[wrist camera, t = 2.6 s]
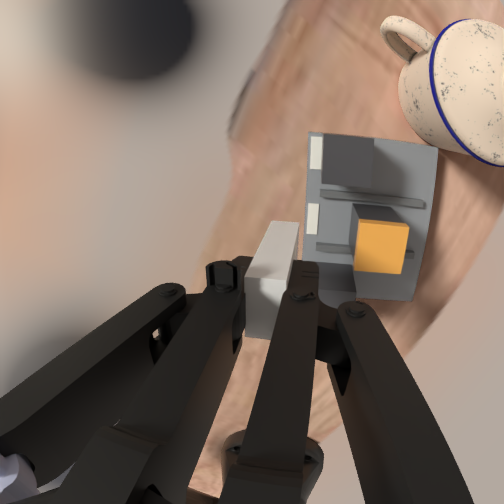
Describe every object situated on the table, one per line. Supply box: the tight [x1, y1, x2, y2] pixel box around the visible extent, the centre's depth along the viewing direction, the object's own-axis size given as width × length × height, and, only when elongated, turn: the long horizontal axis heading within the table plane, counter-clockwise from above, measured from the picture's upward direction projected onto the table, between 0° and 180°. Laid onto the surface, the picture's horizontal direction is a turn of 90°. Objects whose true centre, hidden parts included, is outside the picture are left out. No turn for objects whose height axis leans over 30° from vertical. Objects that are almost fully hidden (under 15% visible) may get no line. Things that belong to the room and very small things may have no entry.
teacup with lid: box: [380, 16, 504, 167], centre depth 14 cm, size 12×9×12 cm
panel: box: [302, 132, 438, 309], centre depth 22 cm, size 13×10×6 cm
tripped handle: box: [348, 203, 409, 274], centre depth 20 cm, size 3×3×5 cm
